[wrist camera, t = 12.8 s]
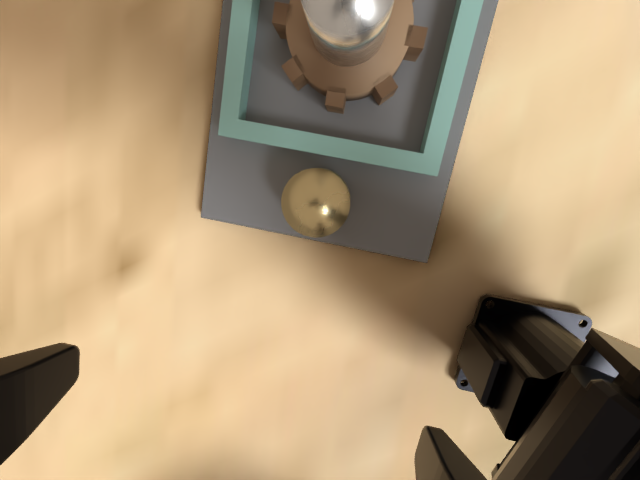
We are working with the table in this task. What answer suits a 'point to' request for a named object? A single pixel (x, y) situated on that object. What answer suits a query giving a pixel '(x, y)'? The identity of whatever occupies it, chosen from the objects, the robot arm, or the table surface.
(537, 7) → the table surface
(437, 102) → the carrier plate
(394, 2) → the planet gear
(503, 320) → the robot arm
